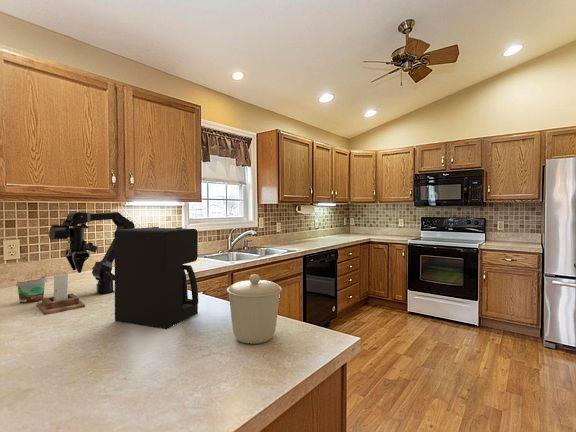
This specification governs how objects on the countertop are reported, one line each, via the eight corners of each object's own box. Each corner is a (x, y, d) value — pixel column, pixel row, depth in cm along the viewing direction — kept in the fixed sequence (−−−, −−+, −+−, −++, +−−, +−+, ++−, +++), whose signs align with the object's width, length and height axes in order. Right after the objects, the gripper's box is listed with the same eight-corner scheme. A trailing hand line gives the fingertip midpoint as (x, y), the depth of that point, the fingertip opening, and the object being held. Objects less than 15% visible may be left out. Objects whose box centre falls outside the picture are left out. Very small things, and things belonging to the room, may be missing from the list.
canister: (259, 355, 91) (259, 283, 91) (214, 341, 101) (214, 276, 100) (291, 334, 106) (292, 272, 106) (250, 324, 116) (250, 267, 116)
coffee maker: (207, 313, 127) (207, 228, 127) (175, 331, 109) (175, 231, 108) (152, 306, 137) (151, 226, 136) (114, 321, 118) (113, 229, 117)
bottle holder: (74, 298, 148) (74, 291, 148) (85, 306, 135) (85, 298, 135) (36, 305, 137) (36, 297, 137) (44, 314, 125) (44, 306, 125)
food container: (27, 305, 138) (27, 282, 137) (16, 304, 139) (15, 281, 139) (53, 297, 150) (53, 276, 150) (43, 296, 151) (42, 276, 151)
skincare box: (53, 303, 137) (52, 275, 138) (65, 301, 140) (65, 274, 141) (55, 303, 133) (55, 275, 134) (68, 302, 136) (68, 273, 137)
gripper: (102, 238, 147) (102, 271, 147) (90, 236, 159) (90, 266, 160) (74, 240, 139) (74, 275, 139) (63, 237, 151) (64, 269, 152)
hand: (76, 271), depth 147 cm, fingers open, 9 cm apart
